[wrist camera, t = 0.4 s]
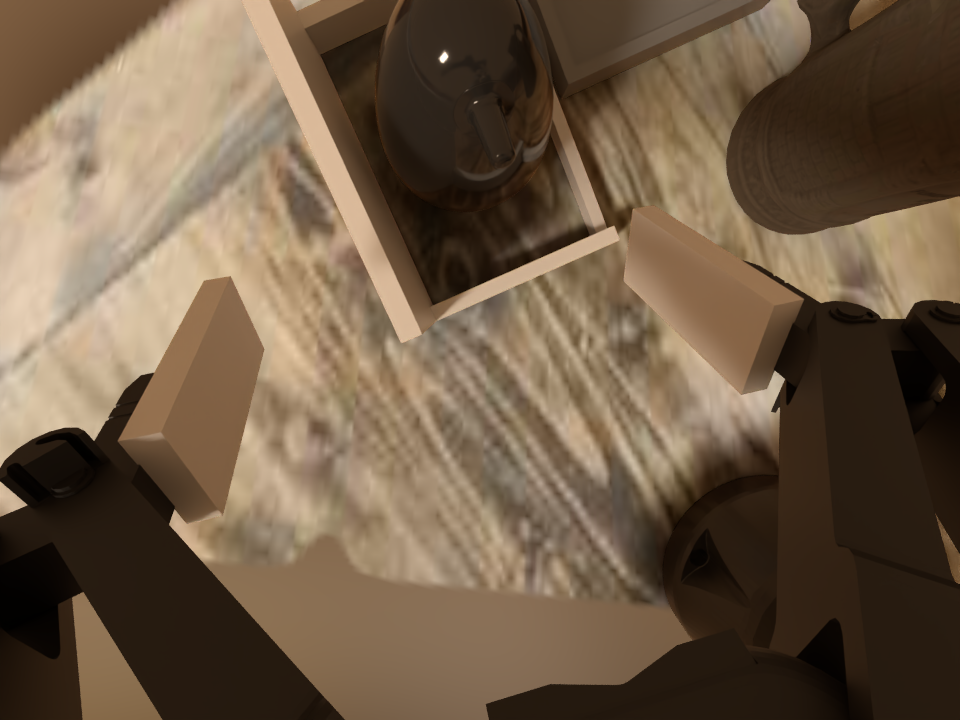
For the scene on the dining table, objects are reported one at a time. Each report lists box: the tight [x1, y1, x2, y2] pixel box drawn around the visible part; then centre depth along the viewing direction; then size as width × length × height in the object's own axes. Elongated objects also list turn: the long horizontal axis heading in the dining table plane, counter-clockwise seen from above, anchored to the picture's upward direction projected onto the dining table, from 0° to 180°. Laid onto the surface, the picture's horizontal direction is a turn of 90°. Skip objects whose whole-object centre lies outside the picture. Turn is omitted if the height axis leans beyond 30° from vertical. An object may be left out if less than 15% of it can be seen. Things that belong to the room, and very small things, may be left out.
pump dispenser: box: [375, 0, 554, 212], centre depth 24 cm, size 10×10×15 cm
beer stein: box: [726, 0, 960, 234], centre depth 22 cm, size 15×11×20 cm
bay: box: [241, 0, 619, 343], centre depth 25 cm, size 20×14×13 cm
